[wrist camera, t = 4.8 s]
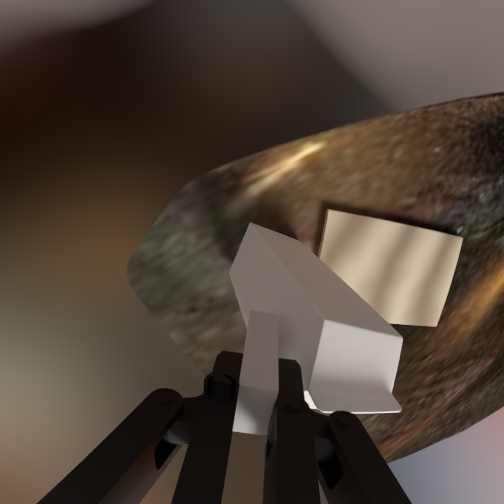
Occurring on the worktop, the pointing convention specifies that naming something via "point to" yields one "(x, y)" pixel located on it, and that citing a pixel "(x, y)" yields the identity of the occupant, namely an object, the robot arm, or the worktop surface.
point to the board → (391, 264)
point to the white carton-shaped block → (318, 324)
